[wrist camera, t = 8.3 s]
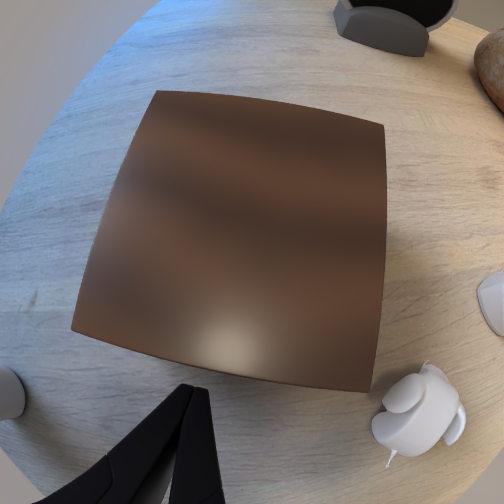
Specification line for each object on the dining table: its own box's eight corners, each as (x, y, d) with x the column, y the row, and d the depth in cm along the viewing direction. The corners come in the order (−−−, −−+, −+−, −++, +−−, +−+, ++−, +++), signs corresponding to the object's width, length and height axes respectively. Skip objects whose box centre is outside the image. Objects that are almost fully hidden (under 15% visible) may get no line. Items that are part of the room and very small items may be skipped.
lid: (159, 98, 17) (156, 89, 16) (379, 132, 17) (384, 124, 16) (77, 331, 13) (69, 330, 12) (363, 391, 13) (369, 393, 12)
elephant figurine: (449, 382, 20) (495, 385, 14) (397, 467, 18) (434, 492, 12) (392, 342, 21) (434, 339, 15) (333, 433, 19) (360, 459, 13)
